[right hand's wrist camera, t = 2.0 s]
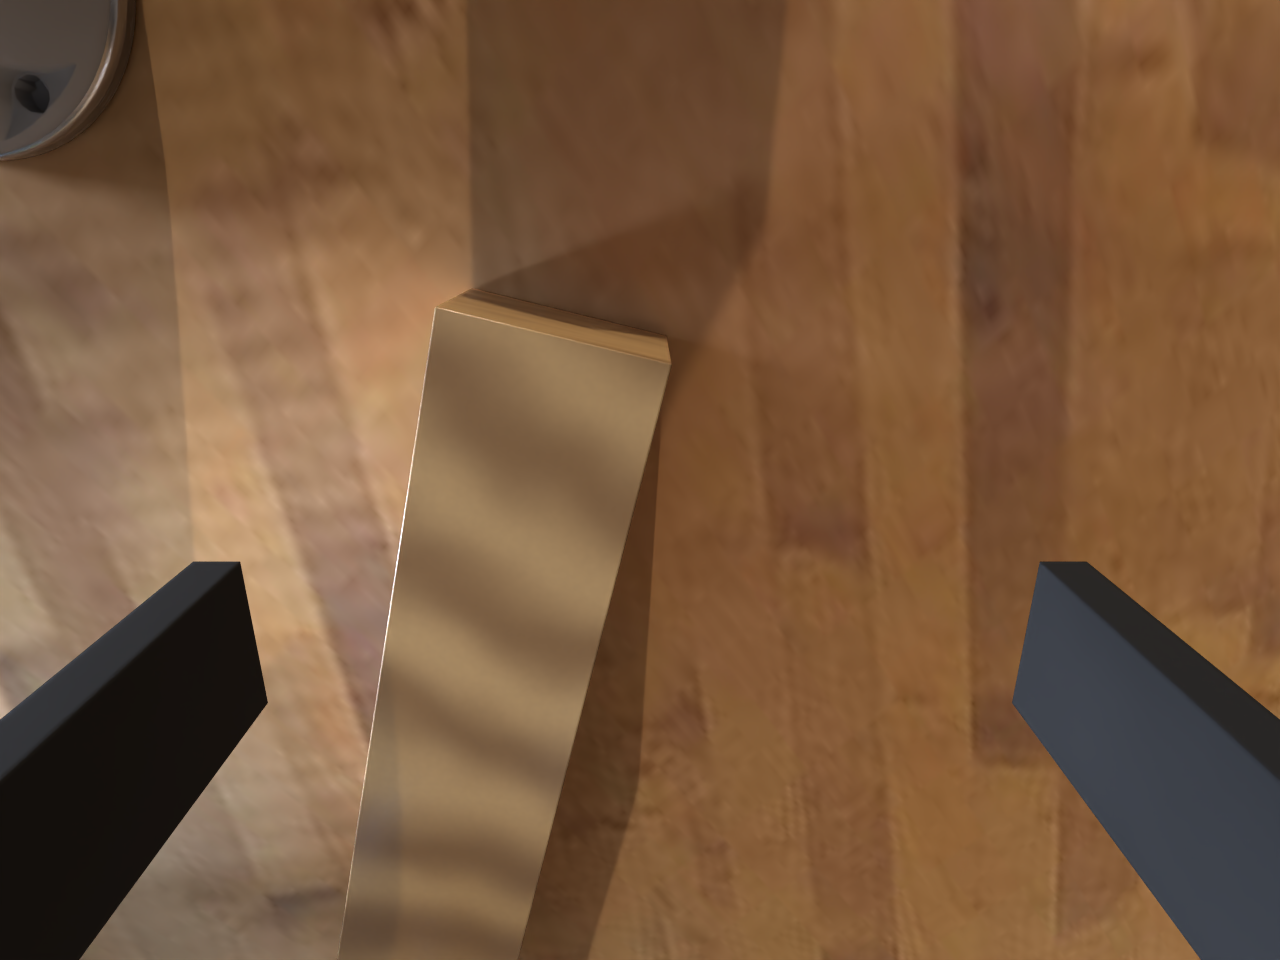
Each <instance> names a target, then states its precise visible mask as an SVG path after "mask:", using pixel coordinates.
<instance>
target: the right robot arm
mask: <svg viewBox="0 0 1280 960" xmlns="http://www.w3.org/2000/svg"><path fill="white" fill-rule="evenodd" d="M135 14H136V0H0V161H9V160H17V159H25V158H29V157H33V156H37V155H41V154H43V153H46V152H49V151H51V150H54V149H56V148H58V147H60V146H62V145H64V144H66V143H68V142H69V141H71V140H72V139H74V138H75V137H76V136H78V135H79V134H81V133H82V132H83V131H84V130H85V129H87V128H88V127H89V126H90V125H91V124H92V123H93V122H94V121H95V120H96V119H97V118H98V116H99V115H100V114H101V113H102V112H103V111H104V109H105V108H106V106H107V105H108V103H109V102H110V100H111V99H112V97H113V96H114V94H115V92H116V90H117V88H118V86H119V84H120V82H121V80H122V77H123V74H124V72H125V69H126V66H127V63H128V60H129V56H130V52H131V48H132V42H133V36H134V29H135ZM267 703H268V701H267V696H266V691H265V686H264V681H263V676H262V671H261V665H260V660H259V655H258V650H257V645H256V640H255V635H254V630H253V625H252V620H251V615H250V610H249V605H248V599H247V594H246V589H245V584H244V579H243V574H242V569H241V564H240V562H192V563H191V564H190V565H189V566H188V567H186V568H185V569H184V570H183V571H181V572H180V573H179V574H178V575H177V576H175V577H174V578H173V579H172V580H170V581H169V582H168V583H167V584H166V585H164V586H163V587H162V588H161V589H159V590H158V591H157V592H156V593H155V594H153V595H152V596H151V597H150V598H148V599H147V600H146V601H145V602H144V603H142V604H141V605H140V606H139V607H137V608H136V609H135V610H134V611H133V612H131V613H130V614H129V615H128V616H126V617H125V618H124V619H123V620H121V621H120V622H119V623H118V624H117V625H115V626H114V627H113V628H112V629H110V630H109V631H108V632H107V633H106V634H104V635H103V636H102V637H101V638H99V639H98V640H97V641H96V642H95V643H93V644H92V645H91V646H90V647H88V648H87V649H86V650H85V651H84V652H82V653H81V654H80V655H79V656H77V657H76V658H75V659H74V660H73V661H71V662H70V663H69V664H68V665H66V666H65V667H64V668H63V669H62V670H60V671H59V672H58V673H57V674H55V675H54V676H53V677H52V678H51V679H49V680H48V681H47V682H46V683H44V684H43V685H42V686H41V687H40V688H38V689H37V690H36V691H35V692H33V693H32V694H31V695H30V696H29V697H27V698H26V699H25V700H24V701H22V702H21V703H20V704H19V705H18V706H16V707H15V708H14V709H13V710H11V711H10V712H9V713H8V714H7V715H5V716H4V717H3V718H2V719H0V960H79V959H80V958H81V956H82V955H83V954H84V952H85V951H86V950H87V948H88V947H89V945H90V944H91V943H92V941H93V940H94V939H95V937H96V936H97V935H98V933H99V932H100V931H101V929H102V928H103V926H104V925H105V924H106V922H107V921H108V920H109V918H110V917H111V916H112V914H113V913H114V911H115V910H116V909H117V907H118V906H119V905H120V903H121V902H122V901H123V899H124V898H125V897H126V895H127V894H128V892H129V891H130V890H131V888H132V887H133V886H134V884H135V883H136V882H137V880H138V879H139V877H140V876H141V875H142V873H143V872H144V871H145V869H146V868H147V867H148V865H149V864H150V862H151V861H152V860H153V858H154V857H155V856H156V854H157V853H158V852H159V850H160V849H161V848H162V846H163V845H164V843H165V842H166V841H167V839H168V838H169V837H170V835H171V834H172V833H173V831H174V830H175V828H176V827H177V826H178V824H179V823H180V822H181V820H182V819H183V818H184V816H185V815H186V814H187V812H188V811H189V809H190V808H191V807H192V805H193V804H194V803H195V801H196V800H197V799H198V797H199V796H200V794H201V793H202V792H203V790H204V789H205V788H206V786H207V785H208V784H209V782H210V781H211V780H212V778H213V777H214V775H215V774H216V773H217V771H218V770H219V769H220V767H221V766H222V765H223V763H224V762H225V760H226V759H227V758H228V756H229V755H230V754H231V752H232V751H233V750H234V748H235V747H236V745H237V744H238V743H239V741H240V740H241V739H242V737H243V736H244V735H245V733H246V732H247V731H248V729H249V728H250V726H251V725H252V724H253V722H254V721H255V720H256V718H257V717H258V716H259V714H260V713H261V711H262V710H263V709H264V707H265V706H266V705H267ZM1012 703H1013V705H1014V706H1015V707H1016V709H1017V710H1018V711H1019V713H1020V714H1021V716H1022V717H1023V718H1024V720H1025V721H1026V722H1027V724H1028V725H1029V726H1030V728H1031V729H1032V731H1033V732H1034V733H1035V735H1036V736H1037V737H1038V739H1039V740H1040V741H1041V743H1042V744H1043V746H1044V747H1045V748H1046V750H1047V751H1048V752H1049V754H1050V755H1051V756H1052V758H1053V759H1054V760H1055V762H1056V763H1057V765H1058V766H1059V767H1060V769H1061V770H1062V771H1063V773H1064V774H1065V775H1066V777H1067V778H1068V780H1069V781H1070V782H1071V784H1072V785H1073V786H1074V788H1075V789H1076V790H1077V792H1078V793H1079V794H1080V796H1081V797H1082V799H1083V800H1084V801H1085V803H1086V804H1087V805H1088V807H1089V808H1090V809H1091V811H1092V812H1093V814H1094V815H1095V816H1096V818H1097V819H1098V820H1099V822H1100V823H1101V824H1102V826H1103V827H1104V828H1105V830H1106V831H1107V833H1108V834H1109V835H1110V837H1111V838H1112V839H1113V841H1114V842H1115V843H1116V845H1117V846H1118V848H1119V849H1120V850H1121V852H1122V853H1123V854H1124V856H1125V857H1126V858H1127V860H1128V861H1129V863H1130V864H1131V865H1132V867H1133V868H1134V869H1135V871H1136V872H1137V873H1138V875H1139V876H1140V877H1141V879H1142V880H1143V882H1144V883H1145V884H1146V886H1147V887H1148V888H1149V890H1150V891H1151V892H1152V894H1153V895H1154V897H1155V898H1156V899H1157V901H1158V902H1159V903H1160V905H1161V906H1162V907H1163V909H1164V910H1165V911H1166V913H1167V914H1168V916H1169V917H1170V918H1171V920H1172V921H1173V922H1174V924H1175V925H1176V926H1177V928H1178V929H1179V931H1180V932H1181V933H1182V935H1183V936H1184V937H1185V939H1186V940H1187V941H1188V943H1189V944H1190V945H1191V947H1192V948H1193V950H1194V951H1195V952H1196V954H1197V955H1198V956H1199V958H1200V959H1201V960H1280V719H1278V718H1277V717H1276V716H1275V715H1273V714H1272V713H1271V712H1270V711H1269V710H1267V709H1266V708H1265V707H1264V706H1262V705H1261V704H1260V703H1259V702H1258V701H1256V700H1255V699H1254V698H1253V697H1251V696H1250V695H1249V694H1248V693H1247V692H1245V691H1244V690H1243V689H1242V688H1240V687H1239V686H1238V685H1237V684H1236V683H1234V682H1233V681H1232V680H1231V679H1229V678H1228V677H1227V676H1226V675H1225V674H1223V673H1222V672H1221V671H1220V670H1218V669H1217V668H1216V667H1215V666H1214V665H1212V664H1211V663H1210V662H1209V661H1207V660H1206V659H1205V658H1204V657H1203V656H1201V655H1200V654H1199V653H1198V652H1196V651H1195V650H1194V649H1193V648H1192V647H1190V646H1189V645H1188V644H1187V643H1185V642H1184V641H1183V640H1182V639H1181V638H1179V637H1178V636H1177V635H1176V634H1174V633H1173V632H1172V631H1171V630H1170V629H1168V628H1167V627H1166V626H1165V625H1163V624H1162V623H1161V622H1160V621H1159V620H1157V619H1156V618H1155V617H1154V616H1152V615H1151V614H1150V613H1149V612H1147V611H1146V610H1145V609H1144V608H1143V607H1141V606H1140V605H1139V604H1138V603H1136V602H1135V601H1134V600H1133V599H1132V598H1130V597H1129V596H1128V595H1127V594H1125V593H1124V592H1123V591H1122V590H1121V589H1119V588H1118V587H1117V586H1116V585H1114V584H1113V583H1112V582H1111V581H1110V580H1108V579H1107V578H1106V577H1105V576H1103V575H1102V574H1101V573H1100V572H1099V571H1097V570H1096V569H1095V568H1094V567H1092V566H1091V565H1090V564H1089V563H1088V562H1040V564H1039V569H1038V574H1037V579H1036V584H1035V589H1034V594H1033V599H1032V604H1031V610H1030V615H1029V620H1028V625H1027V630H1026V635H1025V640H1024V645H1023V650H1022V655H1021V660H1020V665H1019V671H1018V676H1017V681H1016V686H1015V691H1014V696H1013V701H1012Z"/></svg>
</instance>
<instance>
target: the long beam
mask: <svg viewBox="0 0 1280 960" xmlns="http://www.w3.org/2000/svg"><path fill="white" fill-rule="evenodd" d="M671 366H672V364H671V358H670V353H669V347H668V341H667V336H665V335H661V334H657V333H653V332H649V331H645V330H641V329H637V328H633V327H629V326H624V325H620V324H616V323H612V322H608V321H604V320H600V319H596V318H592V317H588V316H584V315H580V314H575V313H571V312H567V311H563V310H559V309H555V308H551V307H547V306H543V305H539V304H535V303H531V302H526V301H522V300H518V299H514V298H510V297H506V296H502V295H498V294H494V293H490V292H486V291H482V290H477V289H473V288H472V289H470V290H468V291H466V292H464V293H462V294H460V295H458V296H456V297H454V298H452V299H450V300H448V301H446V302H444V303H442V304H440V305H439V306H437V307H435V311H434V317H433V324H432V331H431V337H430V344H429V351H428V357H427V364H426V371H425V377H424V384H423V391H422V397H421V404H420V411H419V417H418V424H417V431H416V437H415V444H414V451H413V457H412V464H411V471H410V477H409V484H408V491H407V497H406V504H405V511H404V517H403V524H402V531H401V537H400V544H399V551H398V557H397V564H396V571H395V577H394V584H393V591H392V597H391V604H390V611H389V617H388V624H387V631H386V637H385V644H384V651H383V657H382V664H381V671H380V677H379V684H378V691H377V697H376V704H375V711H374V717H373V724H372V731H371V737H370V744H369V751H368V757H367V764H366V771H365V777H364V784H363V791H362V797H361V804H360V811H359V817H358V824H357V831H356V837H355V844H354V851H353V857H352V864H351V871H350V877H349V884H348V891H347V897H346V904H345V911H344V917H343V924H342V931H341V937H340V944H339V951H338V957H337V960H518V957H519V953H520V950H521V946H522V942H523V938H524V934H525V930H526V926H527V922H528V919H529V915H530V911H531V907H532V903H533V899H534V895H535V892H536V888H537V884H538V880H539V876H540V872H541V868H542V865H543V861H544V857H545V853H546V849H547V845H548V841H549V837H550V834H551V830H552V826H553V822H554V818H555V814H556V810H557V807H558V803H559V799H560V795H561V791H562V787H563V783H564V780H565V776H566V772H567V768H568V764H569V760H570V756H571V752H572V749H573V745H574V741H575V737H576V733H577V729H578V725H579V722H580V718H581V714H582V710H583V706H584V702H585V698H586V695H587V691H588V687H589V683H590V679H591V675H592V671H593V667H594V664H595V660H596V656H597V652H598V648H599V644H600V640H601V637H602V633H603V629H604V625H605V621H606V617H607V613H608V610H609V606H610V602H611V598H612V594H613V590H614V586H615V582H616V579H617V575H618V571H619V567H620V563H621V559H622V555H623V552H624V548H625V544H626V540H627V536H628V532H629V528H630V525H631V521H632V517H633V513H634V509H635V505H636V501H637V498H638V494H639V490H640V486H641V482H642V478H643V474H644V470H645V467H646V463H647V459H648V455H649V451H650V447H651V443H652V440H653V436H654V432H655V428H656V424H657V420H658V416H659V413H660V409H661V405H662V401H663V397H664V393H665V389H666V385H667V382H668V378H669V374H670V370H671Z"/></svg>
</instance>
